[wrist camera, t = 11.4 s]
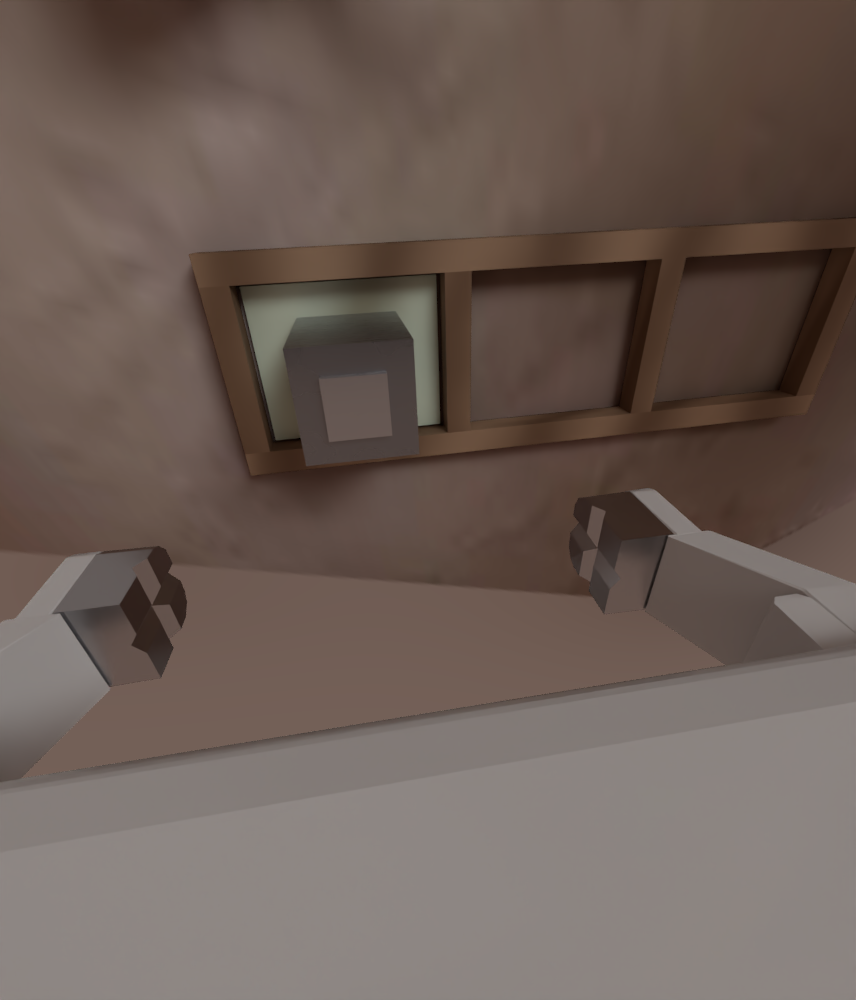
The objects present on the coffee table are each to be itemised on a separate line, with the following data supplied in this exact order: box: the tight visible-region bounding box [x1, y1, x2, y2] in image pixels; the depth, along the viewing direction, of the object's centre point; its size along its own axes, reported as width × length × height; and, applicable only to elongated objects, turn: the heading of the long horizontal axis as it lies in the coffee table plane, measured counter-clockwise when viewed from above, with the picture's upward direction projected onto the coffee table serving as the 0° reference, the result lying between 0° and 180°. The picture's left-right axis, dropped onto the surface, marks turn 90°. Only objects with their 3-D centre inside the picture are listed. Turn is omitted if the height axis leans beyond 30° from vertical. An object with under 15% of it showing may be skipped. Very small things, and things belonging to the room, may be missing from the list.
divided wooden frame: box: [189, 217, 856, 476], centre depth 23 cm, size 32×10×1 cm, turn 92°
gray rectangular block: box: [283, 311, 419, 466], centre depth 19 cm, size 4×4×6 cm
